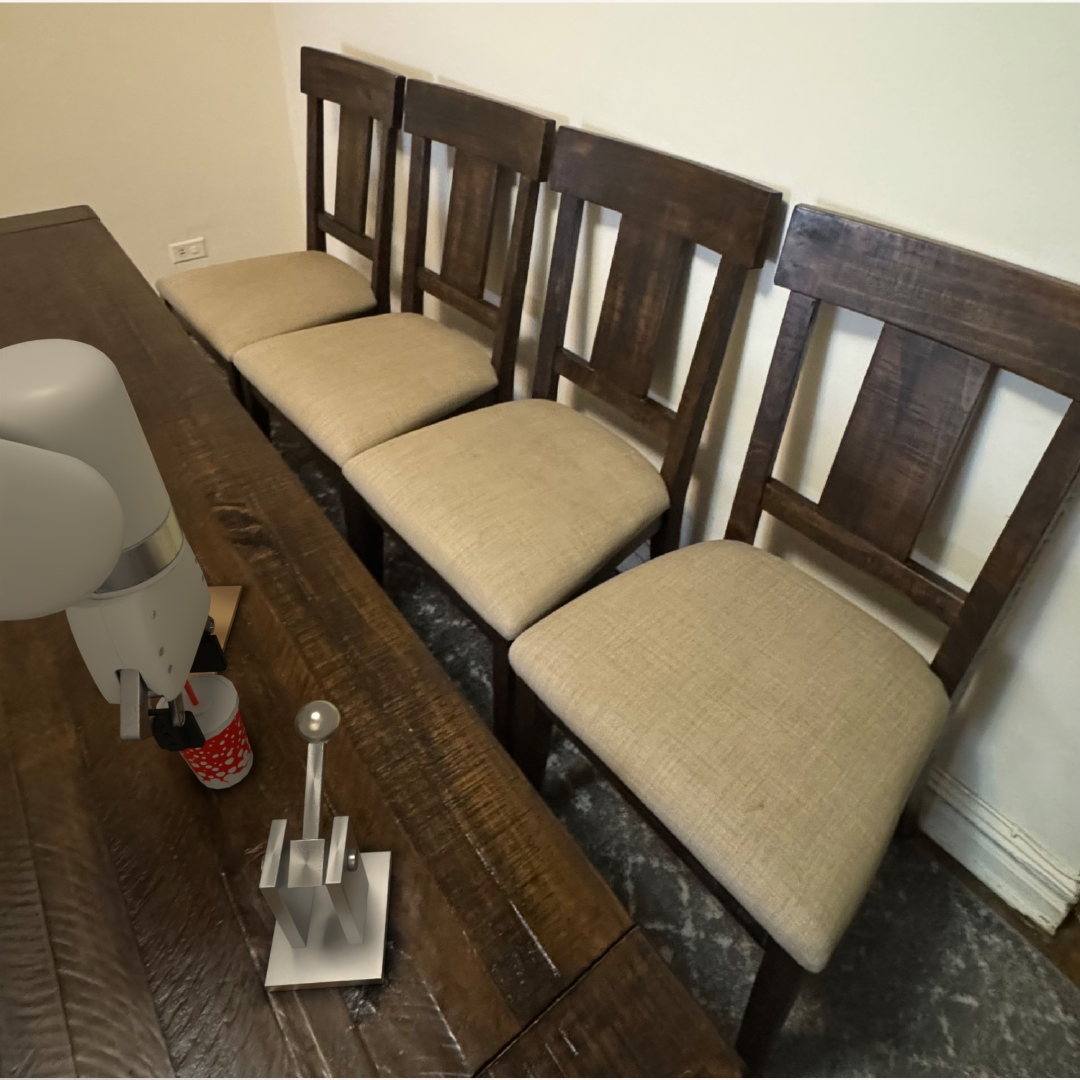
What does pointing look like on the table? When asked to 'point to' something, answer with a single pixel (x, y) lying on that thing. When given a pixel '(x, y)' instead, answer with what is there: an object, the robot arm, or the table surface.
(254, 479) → the table surface
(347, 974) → the faucet base
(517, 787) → the table surface
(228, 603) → the drip mat
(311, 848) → the grey lever handle
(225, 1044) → the table surface
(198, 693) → the beverage cup
